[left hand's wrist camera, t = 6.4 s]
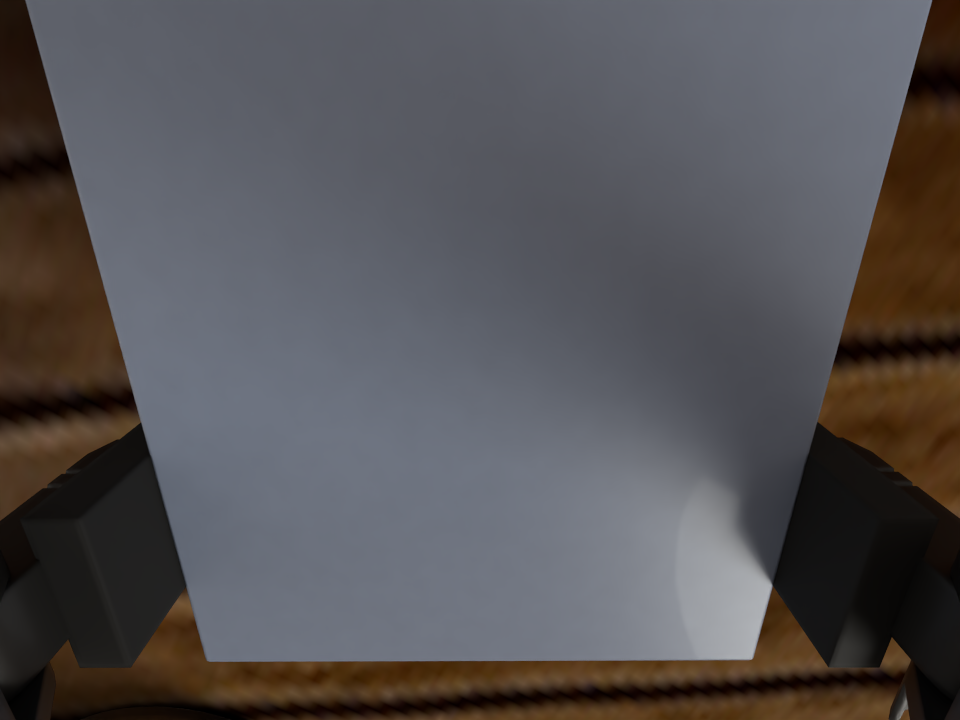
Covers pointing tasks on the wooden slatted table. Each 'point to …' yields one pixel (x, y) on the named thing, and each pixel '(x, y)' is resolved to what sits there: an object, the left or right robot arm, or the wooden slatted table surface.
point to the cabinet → (478, 302)
